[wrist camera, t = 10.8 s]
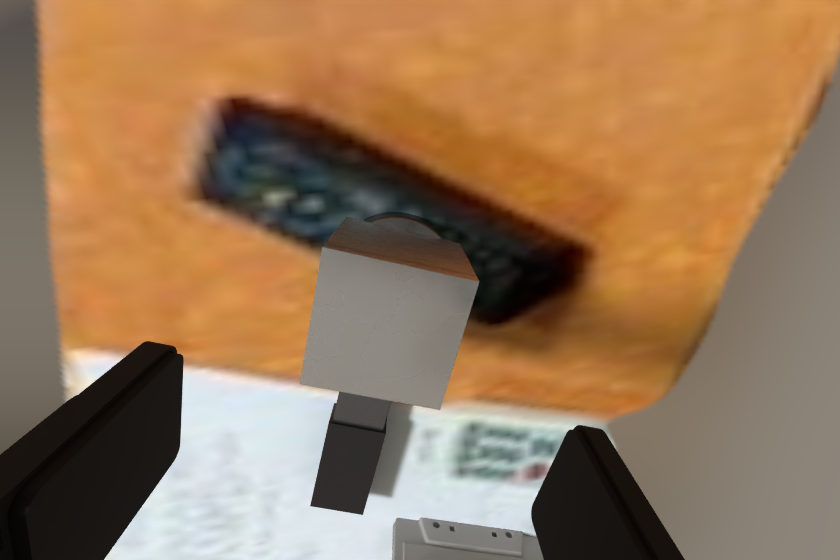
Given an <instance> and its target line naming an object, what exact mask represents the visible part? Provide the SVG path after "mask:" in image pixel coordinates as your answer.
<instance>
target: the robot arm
mask: <svg viewBox="0 0 840 560" xmlns="http://www.w3.org/2000/svg"><path fill="white" fill-rule="evenodd" d="M182 383H183V356H182V355H181V354H177V350H176V348H175V347H174V346H170V345H165V344H160V343H155V342H150V341H147V342H144V343H142V344H141V345H140V346H138V347H137V348H136V349H135V350H133V351H132V352H131V353H130V354H128V355H127V356H126V357H125V358H123V359H122V360H121V361H120V362H118V363H117V364H116V365H115V366H114V367H112V368H111V369H110V370H109V371H107V372H106V373H105V374H104V375H102V376H101V377H100V378H99V379H97V380H96V381H95V382H94V383H92V384H91V385H90V386H89V387H87V388H86V389H85V390H84V391H82V392H81V393H80V394H79V395H76V396H75V397H73V398H71V399H70V400H68V401H67V402H66V403H65V404H63V405H62V406H61V407H59V408H58V409H57V410H56V411H55V412H53V413H52V414H51V415H50V416H48V417H47V418H46V419H44V420H43V421H42V422H41V423H39V424H38V425H37V426H36V427H35V428H33V429H32V430H31V431H29V432H28V433H27V434H26V435H24V436H23V437H22V438H21V439H19V440H18V441H17V442H16V443H14V444H13V445H12V446H11V447H9V449H7V450H6V451H4V452H3V453H2V454H1V455H0V560H104V559H105V557H106V556H107V554H108V553H109V552H110V550H111V549H112V547H113V546H114V545H115V543H116V542H117V540H118V539H119V538H120V536H121V535H122V533H123V532H124V531H125V529H126V528H127V526H128V525H129V524H130V522H131V521H132V519H133V518H134V517H135V515H136V514H137V512H138V511H139V510H140V508H141V507H142V505H143V504H144V503H145V501H146V500H147V498H148V497H149V495H150V494H151V493H152V491H153V490H154V488H155V487H156V486H157V484H158V483H159V481H160V480H161V479H162V477H163V476H164V474H165V473H166V472H167V470H168V469H169V467H170V466H171V465H172V463H173V462H174V460H175V458H176V456H177V454H178V451H179V448H180V434H181V408H182ZM531 516H532V522H533V526H534V529H535V532H536V536H537V539H538V542H539V546H540V549H541V552H542V555H543V559H544V560H685V559H684V558H683V556H682V555H681V553H680V551H679V550H678V548H677V547H676V545H675V543H674V542H673V540H672V539H671V537H670V535H669V534H668V532H667V531H666V529H665V527H664V526H663V524H662V523H661V521H660V519H659V518H658V516H657V515H656V513H655V511H654V510H653V508H652V507H651V505H650V504H649V502H648V500H647V499H646V497H645V496H644V494H643V492H642V491H641V489H640V488H639V486H638V484H637V483H636V481H635V480H634V478H633V477H632V475H631V473H630V472H629V470H628V468H627V467H626V465H625V464H624V462H623V460H622V459H621V457H620V456H619V454H618V452H617V451H616V449H615V448H614V446H613V444H612V443H611V441H610V440H609V438H608V436H607V435H606V433H605V432H604V431H603V430H601V429H598V428H593V427H587V426H582V425H577V426H576V427H575V428H574V429H573V430H569V431H568V432H567V434H566V436H565V438H564V440H563V442H562V444H561V446H560V448H559V450H558V453H557V455H556V457H555V459H554V461H553V463H552V465H551V467H550V469H549V471H548V473H547V476H546V478H545V480H544V482H543V484H542V486H541V488H540V490H539V492H538V494H537V497H536V499H535V501H534V503H533V506H532V510H531Z"/></svg>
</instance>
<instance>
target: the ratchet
mask: <svg viewBox="0 0 840 560" xmlns="http://www.w3.org/2000/svg"><path fill="white" fill-rule="evenodd" d="M363 221H366V222H371V223H375V224H379V225H384V226H388V227H392V228H397V229H401V230H405V231H410V232H414V233H418V234H423V235H427V236H431V237H436V238H440V239H444V240H446V239H445V238H444V236H443V235H442V234H441V233H440V232H439V231H438V229H436V228H435V227H434V226H433V225H432V224H430V223H429V222H427V221H426V220H424V219H422V218H420V217H418V216H415V215H412V214H408V213H402V212H387V213H381V214H377V215H374V216H371V217H369V218H367V219H365V220H363ZM390 403H391V401H389V400H383V399H378V398H373V397H367V396H362V395H356V394H351V393H345V392H340V391H339V395H338V400H337V403H334V406H333V410H332V413H331V417H330V421H329V424H328V429H327V433H326V438H325V442H324V447H323V451H322V456H321V460H320V465H319V469H318V474H317V478H316V483H315V487H314V492H313V496H312V501H311V505H310V506H313V507H319V508H325V509H331V510H337V511H343V512H349V513H355V514H361V515H363V512H364V509H365V505H366V501H367V498H368V494H369V491H370V487H371V484H372V480H373V477H374V473H375V469H376V466H377V462H378V459H379V455H380V452H381V448H382V445H383V441H384V438H385V434H386V422H387V414H388V410H389V406H390Z"/></svg>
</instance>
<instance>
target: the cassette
mask: <svg viewBox="0 0 840 560" xmlns="http://www.w3.org/2000/svg"><path fill="white" fill-rule="evenodd" d="M392 560H544V559H543V555H542V552H541V549H540V546H539V542H538V539H537V537H532V536H525V535H523V532H521V531H514V530H507V529H500V528H493V527H486V526H478V525H471V524H464V523H457V522H450V521H443V520H435V519H428V518H420V519H419V520H410V519H402V518H397V519H396V521H395V523H394V525H393V540H392Z"/></svg>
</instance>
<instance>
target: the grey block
mask: <svg viewBox="0 0 840 560" xmlns="http://www.w3.org/2000/svg"><path fill="white" fill-rule="evenodd" d="M478 285H479V280H478V278H477V276H476V274H475V272H474V270H473V268H472V266H471V264H470V262H469V260H468V258H467V256H466V254H465V252H464V250H463V248H462V246H461V244H460V243H457V242H453V241H449V240H444V239H440V238H436V237H431V236H427V235H423V234H418V233H414V232H410V231H405V230H401V229H397V228H392V227H388V226H384V225H379V224H375V223H371V222H366V221H362V220H358V219H353V218H349V217H346V218H345V219H344V221H343V222H342V223H341V224H340V226H339V227H338V228H337V229H336V231H335V232H334V233H333V235H332V236H331V237H330V238H329V240H328V241H327V242H326V243H325V245H324V246H323V247H322V254H321V260H320V266H319V272H318V278H317V284H316V290H315V296H314V302H313V308H312V314H311V320H310V326H309V332H308V338H307V344H306V350H305V356H304V362H303V368H302V374H301V380H300V384H302V385H307V386H313V387H318V388H324V389H329V390H334V391H340V392H345V393H351V394H356V395H362V396H367V397H373V398H378V399H383V400H389V401H394V402H400V403H405V404H411V405H416V406H422V407H427V408H432V409H438V410H440V408H441V405H442V402H443V398H444V395H445V392H446V389H447V385H448V382H449V379H450V376H451V372H452V369H453V366H454V363H455V359H456V356H457V353H458V350H459V346H460V343H461V340H462V337H463V333H464V330H465V327H466V324H467V320H468V317H469V314H470V311H471V307H472V304H473V301H474V298H475V294H476V291H477V288H478Z"/></svg>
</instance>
